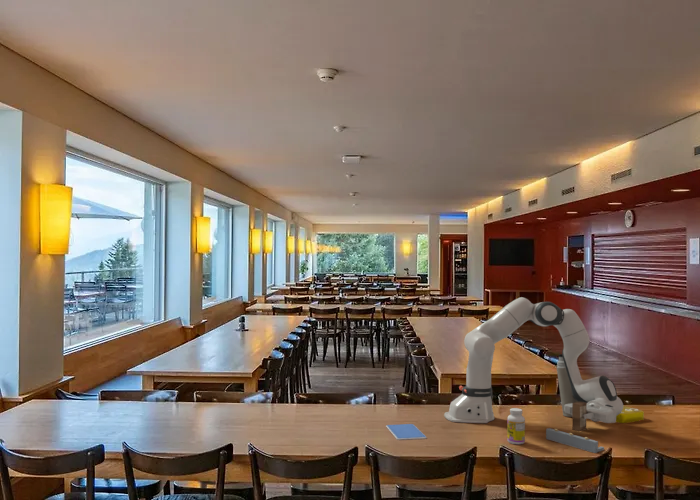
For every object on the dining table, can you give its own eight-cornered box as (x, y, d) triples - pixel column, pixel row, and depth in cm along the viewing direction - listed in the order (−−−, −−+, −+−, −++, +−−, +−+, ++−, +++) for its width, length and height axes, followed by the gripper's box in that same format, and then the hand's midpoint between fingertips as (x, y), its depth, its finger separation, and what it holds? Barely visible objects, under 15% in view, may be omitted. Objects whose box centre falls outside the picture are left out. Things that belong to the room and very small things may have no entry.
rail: (595, 453, 211) (595, 440, 211) (546, 438, 228) (546, 427, 228) (604, 450, 215) (604, 437, 215) (555, 436, 232) (555, 424, 232)
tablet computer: (427, 440, 227) (427, 436, 227) (397, 441, 224) (397, 438, 224) (413, 426, 246) (413, 423, 246) (385, 427, 243) (385, 424, 243)
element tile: (618, 413, 272) (618, 402, 272) (645, 421, 258) (645, 410, 258) (595, 416, 266) (595, 405, 266) (622, 424, 252) (622, 413, 252)
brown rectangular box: (579, 431, 232) (579, 404, 233) (572, 429, 235) (572, 403, 235) (586, 429, 236) (586, 402, 236) (579, 427, 238) (579, 401, 238)
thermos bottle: (561, 413, 268) (552, 354, 271) (578, 412, 267) (570, 352, 270) (565, 417, 260) (557, 355, 263) (583, 415, 259) (574, 354, 262)
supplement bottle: (504, 439, 226) (504, 407, 227) (520, 439, 227) (521, 407, 227) (510, 445, 220) (511, 411, 220) (527, 444, 220) (527, 411, 221)
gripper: (574, 398, 251) (556, 402, 243) (619, 408, 235) (601, 413, 227) (574, 412, 251) (556, 417, 243) (619, 423, 235) (601, 428, 227)
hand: (578, 415), depth 235 cm, fingers closed on brown rectangular box, 3 cm apart
